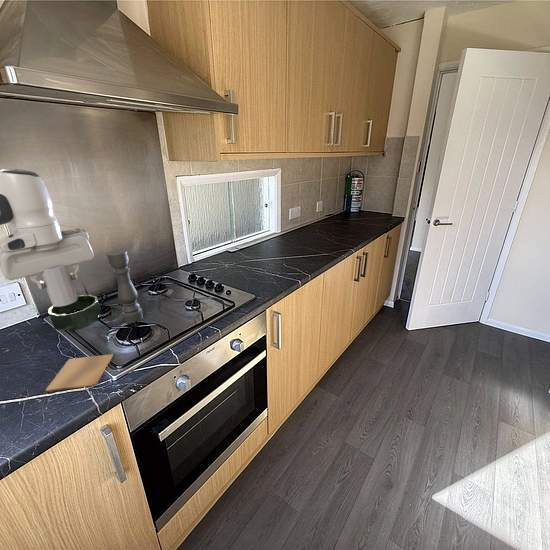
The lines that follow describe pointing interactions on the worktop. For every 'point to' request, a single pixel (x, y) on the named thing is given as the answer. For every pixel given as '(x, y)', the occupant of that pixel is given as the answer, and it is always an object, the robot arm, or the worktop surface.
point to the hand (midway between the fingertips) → (58, 283)
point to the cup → (59, 286)
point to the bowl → (76, 313)
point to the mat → (80, 372)
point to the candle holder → (125, 286)
